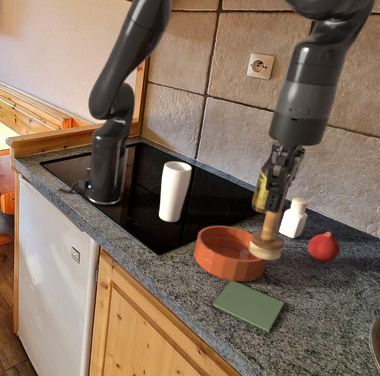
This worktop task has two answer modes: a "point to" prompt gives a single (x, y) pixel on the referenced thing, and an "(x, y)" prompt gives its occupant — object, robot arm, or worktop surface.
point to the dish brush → (268, 237)
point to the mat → (249, 305)
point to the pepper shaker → (294, 218)
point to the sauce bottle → (263, 184)
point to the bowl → (227, 254)
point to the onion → (323, 248)
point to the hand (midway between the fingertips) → (273, 207)
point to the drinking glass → (174, 190)
